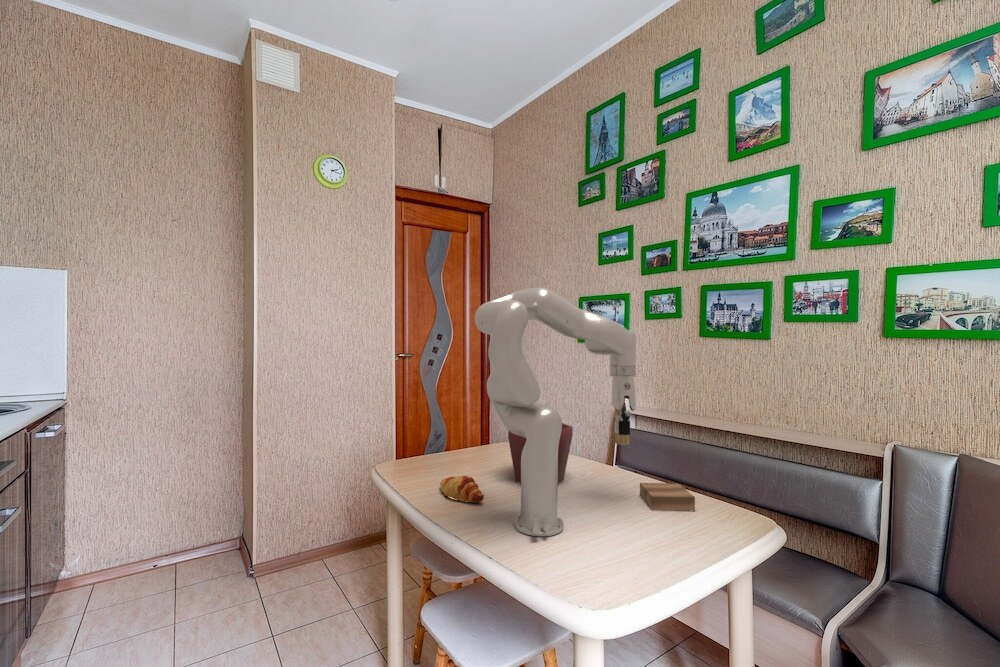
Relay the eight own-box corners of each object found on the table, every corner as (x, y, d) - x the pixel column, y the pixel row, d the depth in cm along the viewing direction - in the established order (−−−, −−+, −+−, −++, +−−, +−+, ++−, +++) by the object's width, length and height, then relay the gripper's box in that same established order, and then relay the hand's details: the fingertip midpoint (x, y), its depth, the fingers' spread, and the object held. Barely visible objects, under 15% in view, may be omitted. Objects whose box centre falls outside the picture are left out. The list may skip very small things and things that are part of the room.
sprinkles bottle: (618, 441, 136) (619, 397, 136) (632, 443, 133) (633, 398, 133) (611, 443, 133) (611, 398, 133) (625, 446, 129) (625, 399, 130)
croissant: (434, 500, 143) (424, 480, 141) (456, 479, 149) (447, 460, 147) (475, 519, 127) (465, 497, 125) (498, 495, 134) (489, 474, 131)
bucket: (508, 468, 167) (509, 401, 167) (568, 469, 166) (568, 402, 166) (507, 490, 142) (508, 412, 143) (576, 492, 141) (577, 413, 142)
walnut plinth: (694, 511, 126) (694, 497, 126) (652, 510, 126) (652, 496, 127) (678, 496, 138) (678, 483, 138) (639, 495, 138) (639, 483, 138)
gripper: (643, 373, 125) (643, 439, 124) (627, 370, 141) (627, 427, 141) (616, 373, 125) (616, 438, 124) (604, 369, 142) (603, 427, 141)
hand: (622, 432), depth 133 cm, fingers closed on sprinkles bottle, 4 cm apart
